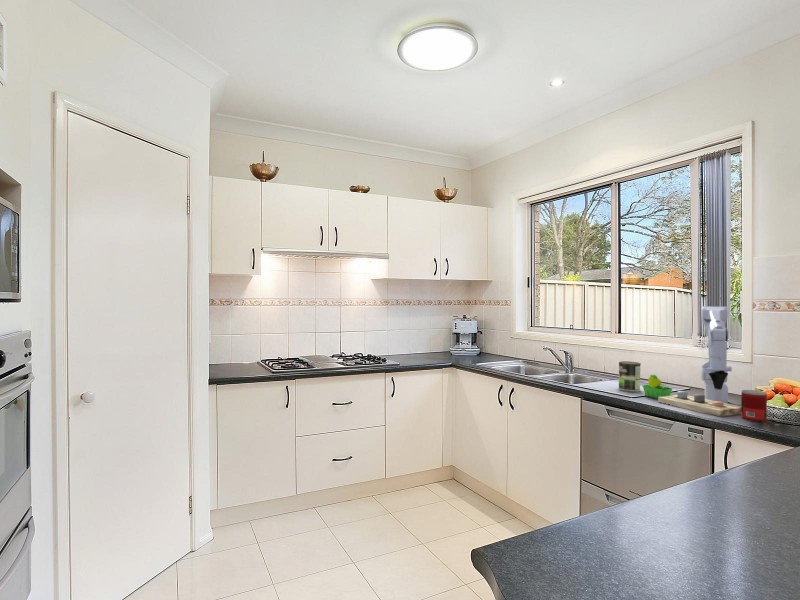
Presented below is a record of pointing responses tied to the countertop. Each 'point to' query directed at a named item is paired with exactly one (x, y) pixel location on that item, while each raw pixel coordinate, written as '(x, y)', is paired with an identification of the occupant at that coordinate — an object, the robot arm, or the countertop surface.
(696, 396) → the button charcoal
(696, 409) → the panel
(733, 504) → the countertop surface
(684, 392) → the button slate
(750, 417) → the canned food
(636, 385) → the coffee can
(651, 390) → the fruit basket
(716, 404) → the button terracotta
